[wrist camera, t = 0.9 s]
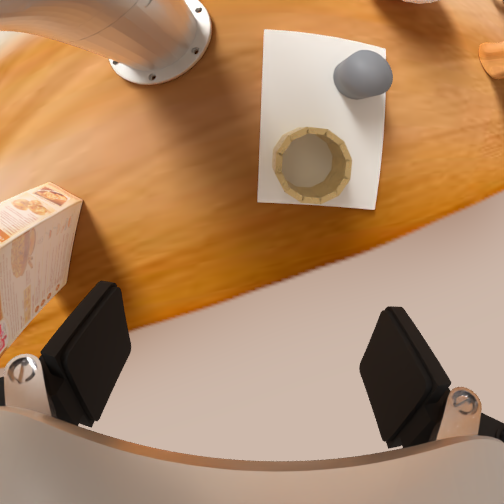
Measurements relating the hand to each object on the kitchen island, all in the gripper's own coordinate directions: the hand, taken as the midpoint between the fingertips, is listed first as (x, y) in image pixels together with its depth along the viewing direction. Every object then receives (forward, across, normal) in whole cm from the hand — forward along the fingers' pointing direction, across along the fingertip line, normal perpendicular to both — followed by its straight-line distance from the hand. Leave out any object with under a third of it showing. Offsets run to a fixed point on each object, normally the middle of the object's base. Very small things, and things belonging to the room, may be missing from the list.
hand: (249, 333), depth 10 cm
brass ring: (+24, -5, -4) cm, 24 cm away
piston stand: (+24, -7, -9) cm, 27 cm away
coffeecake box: (+24, +28, +8) cm, 38 cm away
